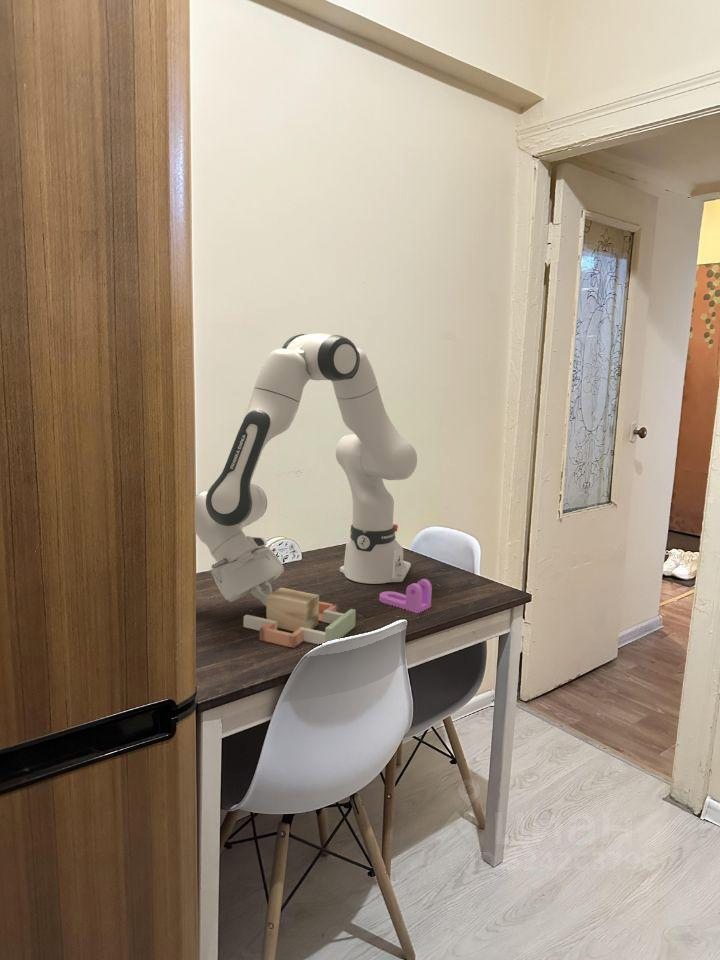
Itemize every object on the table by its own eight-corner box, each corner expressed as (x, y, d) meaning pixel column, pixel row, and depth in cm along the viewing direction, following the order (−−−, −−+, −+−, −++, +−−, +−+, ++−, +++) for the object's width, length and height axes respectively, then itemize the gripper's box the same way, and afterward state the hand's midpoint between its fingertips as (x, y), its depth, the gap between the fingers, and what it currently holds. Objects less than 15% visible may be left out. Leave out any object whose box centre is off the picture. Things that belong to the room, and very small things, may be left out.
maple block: (280, 616, 158) (280, 587, 157) (318, 624, 154) (319, 595, 152) (266, 625, 153) (266, 595, 151) (305, 634, 148) (305, 603, 147)
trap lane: (281, 603, 166) (282, 587, 165) (362, 620, 157) (363, 604, 156) (232, 633, 148) (232, 615, 147) (320, 654, 139) (321, 636, 138)
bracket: (430, 608, 167) (432, 580, 165) (417, 614, 162) (419, 586, 161) (388, 594, 175) (389, 568, 173) (374, 600, 170) (375, 574, 169)
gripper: (215, 558, 146) (253, 609, 144) (267, 536, 164) (301, 581, 162) (199, 574, 149) (236, 625, 147) (251, 551, 167) (285, 596, 165)
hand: (271, 602), depth 155 cm, fingers closed
